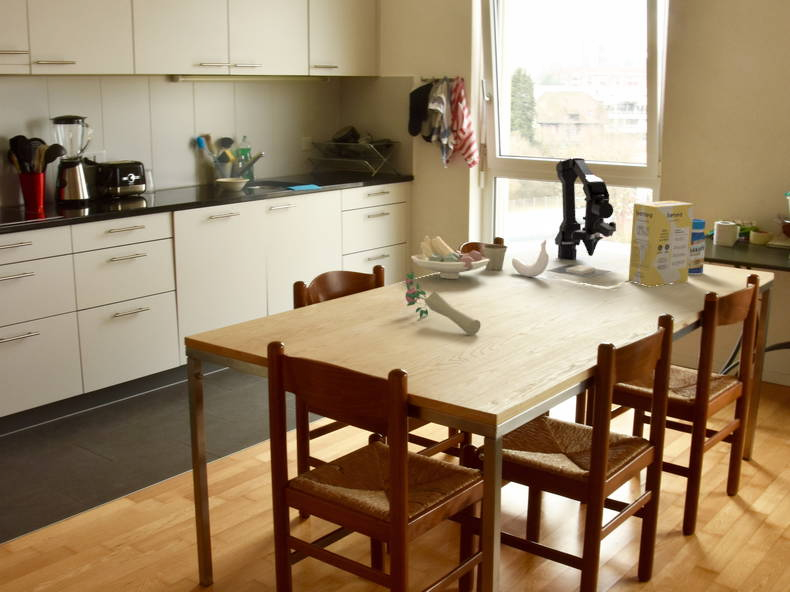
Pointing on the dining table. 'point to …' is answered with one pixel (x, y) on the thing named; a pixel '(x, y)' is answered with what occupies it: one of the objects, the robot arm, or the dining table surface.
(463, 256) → the dish with food
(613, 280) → the dining table surface
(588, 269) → the tile
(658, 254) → the pasta box
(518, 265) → the banana
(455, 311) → the flower vase
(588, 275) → the slate board
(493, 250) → the flower pot
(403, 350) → the dining table surface
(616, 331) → the dining table surface
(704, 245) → the beverage bottle
